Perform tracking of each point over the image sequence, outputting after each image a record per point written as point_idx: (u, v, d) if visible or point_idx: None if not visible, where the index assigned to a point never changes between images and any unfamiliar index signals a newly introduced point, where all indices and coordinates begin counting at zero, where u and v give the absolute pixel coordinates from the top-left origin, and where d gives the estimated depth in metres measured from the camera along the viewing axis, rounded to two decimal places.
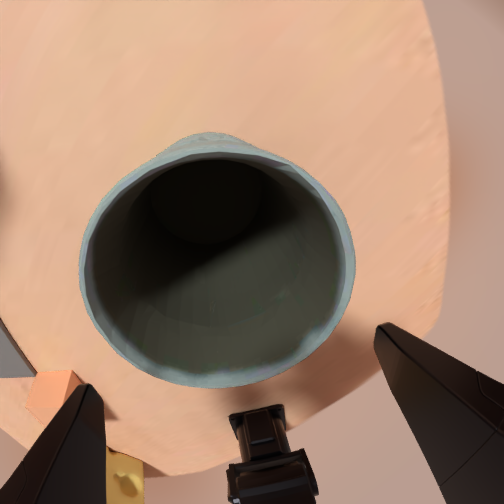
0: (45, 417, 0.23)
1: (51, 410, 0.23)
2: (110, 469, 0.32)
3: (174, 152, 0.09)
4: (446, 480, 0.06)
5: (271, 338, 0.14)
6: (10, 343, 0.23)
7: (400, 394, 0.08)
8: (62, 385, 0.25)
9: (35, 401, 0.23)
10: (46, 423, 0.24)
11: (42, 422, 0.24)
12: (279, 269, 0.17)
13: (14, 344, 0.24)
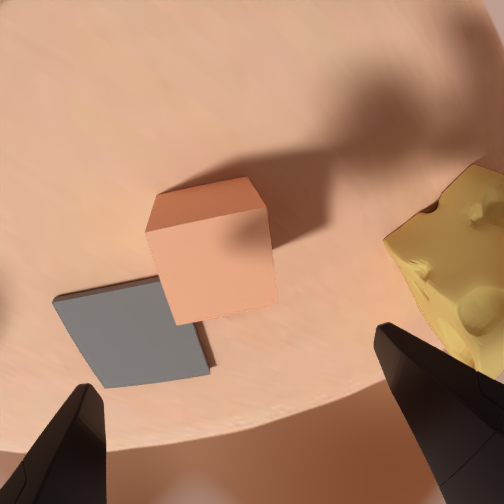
0: (205, 293, 0.14)
1: (165, 264, 0.13)
2: (457, 226, 0.17)
3: None
4: (446, 479, 0.06)
5: None
6: (103, 294, 0.18)
7: (400, 394, 0.08)
8: None
9: None
10: (231, 299, 0.15)
11: (229, 307, 0.15)
12: None
13: (110, 288, 0.18)
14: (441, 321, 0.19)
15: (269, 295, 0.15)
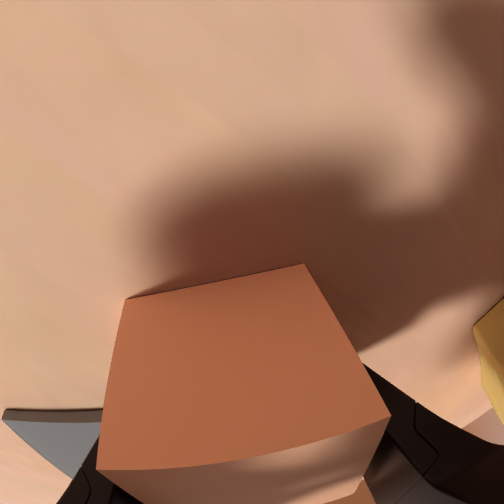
0: None
1: (155, 497, 0.05)
2: None
3: None
4: None
5: None
6: (66, 423, 0.10)
7: None
8: None
9: None
10: None
11: None
12: None
13: (74, 416, 0.10)
14: None
15: (343, 492, 0.06)
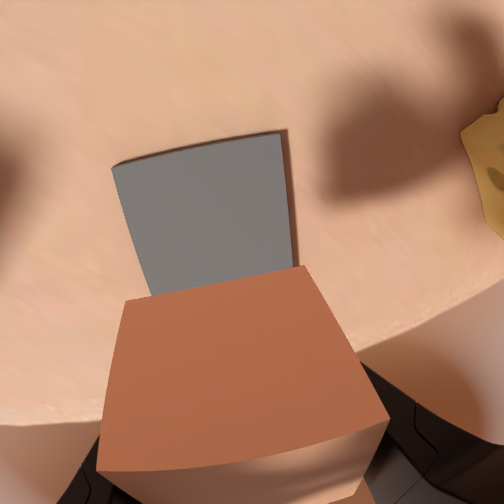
0: None
1: (154, 498, 0.05)
2: None
3: None
4: None
5: None
6: (186, 152, 0.15)
7: None
8: None
9: None
10: None
11: None
12: None
13: (193, 147, 0.16)
14: None
15: (342, 493, 0.06)
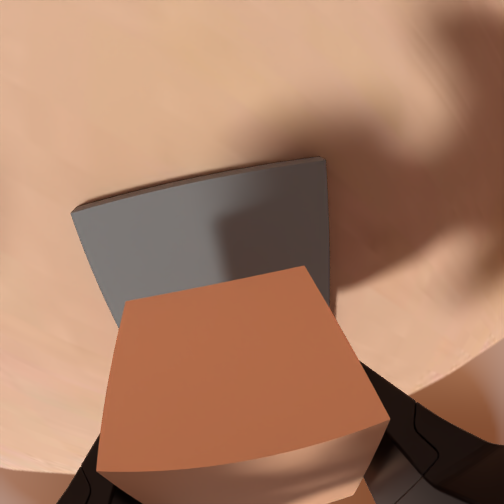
0: None
1: (154, 498, 0.05)
2: None
3: None
4: None
5: None
6: (181, 188, 0.10)
7: None
8: None
9: None
10: None
11: None
12: None
13: (193, 179, 0.10)
14: None
15: (342, 494, 0.06)
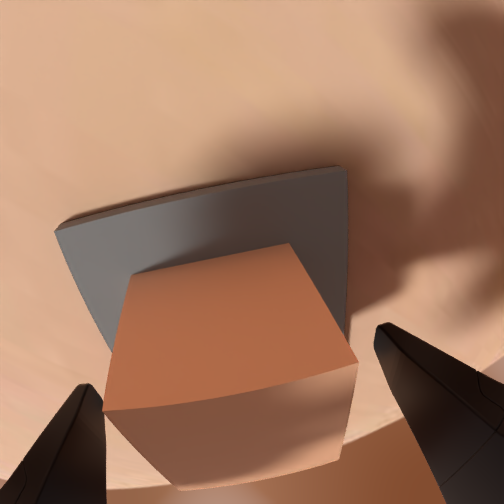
0: (226, 468, 0.07)
1: (153, 446, 0.06)
2: None
3: None
4: (446, 480, 0.06)
5: None
6: (180, 203, 0.09)
7: (400, 394, 0.08)
8: None
9: None
10: (268, 468, 0.07)
11: (263, 474, 0.08)
12: None
13: (194, 192, 0.09)
14: None
15: (328, 456, 0.08)
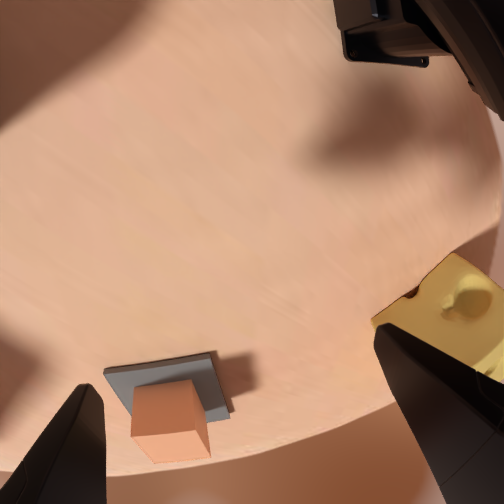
0: (168, 455, 0.21)
1: (144, 446, 0.20)
2: (431, 314, 0.22)
3: None
4: (446, 480, 0.06)
5: None
6: (149, 369, 0.23)
7: (400, 394, 0.08)
8: None
9: None
10: (183, 456, 0.21)
11: (182, 459, 0.21)
12: None
13: (154, 364, 0.23)
14: None
15: (204, 455, 0.22)
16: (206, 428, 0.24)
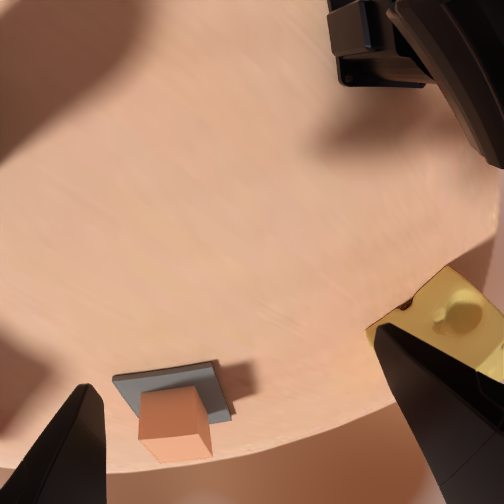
0: (173, 455, 0.23)
1: (150, 448, 0.21)
2: (423, 327, 0.23)
3: None
4: (446, 480, 0.06)
5: None
6: (155, 376, 0.24)
7: (400, 394, 0.08)
8: None
9: None
10: (187, 457, 0.23)
11: (186, 459, 0.23)
12: None
13: (159, 372, 0.24)
14: None
15: (207, 455, 0.23)
16: (209, 430, 0.26)
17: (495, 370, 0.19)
